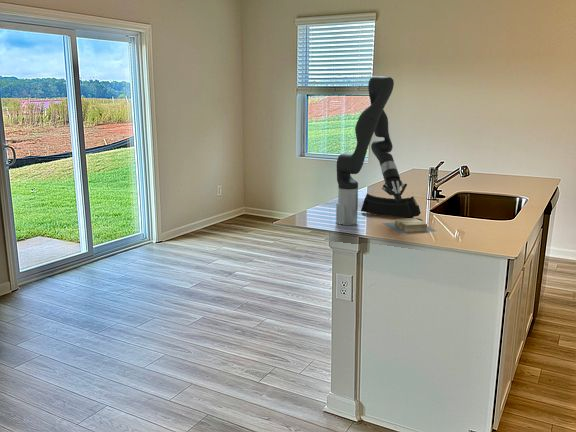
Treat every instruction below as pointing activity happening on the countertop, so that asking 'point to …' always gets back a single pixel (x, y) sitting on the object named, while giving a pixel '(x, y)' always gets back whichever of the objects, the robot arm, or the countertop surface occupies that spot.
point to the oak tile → (411, 224)
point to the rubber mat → (400, 231)
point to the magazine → (391, 206)
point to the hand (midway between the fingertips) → (399, 201)
